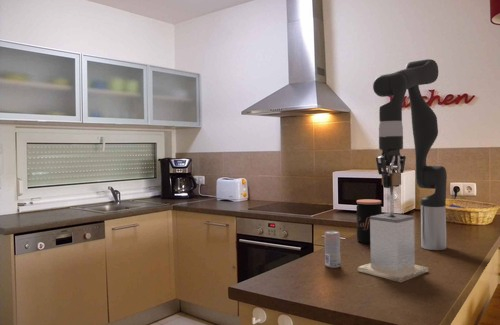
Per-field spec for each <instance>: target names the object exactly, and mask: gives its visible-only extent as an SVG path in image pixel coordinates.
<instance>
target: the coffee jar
mask: <svg viewBox="0 0 500 325" xmlns="http://www.w3.org/2000/svg"><path fill="white" fill-rule="evenodd" d="M382 203H383V202H382V200H380V199H371V198H370V199H369V198H367V199H365V198H364V199H357V200H356V204H357V205H356V239H357V241H358V242H359V243H360V244H361V243H362V244H366V245H370V216H375V215H380V214H383V213H382V212H383V210H382V209H383V208H382V205H381V204H382Z"/></svg>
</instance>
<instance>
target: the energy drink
mask: <svg viewBox="0 0 500 325" xmlns="http://www.w3.org/2000/svg"><path fill="white" fill-rule="evenodd" d="M324 265H325V267H326V268H332V269H333V268H339V267H341V233H340V231H338V230H326V231H325V232H324Z"/></svg>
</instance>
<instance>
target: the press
mask: <svg viewBox="0 0 500 325" xmlns="http://www.w3.org/2000/svg"><path fill="white" fill-rule="evenodd" d="M369 245H370V262H369V263H366V264H363V265H360V266H357V272H360V273H362V274H367V275H371V276H374V277H378V278H382V279H386V280H389V281H394V282H399V283H403V282H405V281H408V280H411V279H414V278H416V277H419V276H422V275H423V274H426V273H428V272H429V266H425V265H424V266H423V265H418V264H415V261H416V260H415V258H416V257H415V253H416V252H415V216H414V215H407V214H399V213H398V214H397V213H394V217H390V212H385V213H382V214H380V215H375V216H370V244H369Z"/></svg>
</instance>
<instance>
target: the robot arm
mask: <svg viewBox="0 0 500 325" xmlns="http://www.w3.org/2000/svg"><path fill="white" fill-rule="evenodd" d="M438 76H439V66H438V63H437V62H436V60H434V59H429V58H428V59H422V60H414V61H410V62H408V63H406V65H405V69H400V70H398V71H395V72H393V73H387V74H382V75H378V76H377V77H376V78H375V79H374V81H373V83H372V90H373V91H374V93H375V95H377V96H378V97H383V98H384V97H392V98H391V100H390V101H388V102H386V103H383V104H381V105H380V106H379V111H378V112H379V113H378V114H379V118H378V120H379V123H378V124H379V126H378V149H379V150H380V151H382V152H381V155H380V156H376V157H375V161H376V167H377V170H378V171H377V172H378V175H381V177H382V176H383V181H384V182H383V185H382V186H383V188H384V189H390V187H391V177H389V176H390V174H391V172H399V173H401V174H403V173H404V172H405V171H404V170H405V164H406V159H407V158H406V155H401V151H400V150H403V149H404V127H403V106H404V100H405V96H406V93H408V97H409V98H408V99H409V104H410V113H411V114H410V116H411V128H412V134H413V142H414V143H413V144H414V151H415V179H416V180H415V181H416V184H417V186H418V187H419V188H420V189H432V190H434V193H432V194H431V195H428V196H424V197H422V198H421V199H420V240H421V241H420V242H421V243H420V244H421V246H420V247H421V249H424V250H429V251H443V250H446V249H447V218H446V217H447V216H446V215H447V214H446V213H447V212H446V211H447V210H446V209H447V208H446V205H447V204H446V201H447V183H448V182H447V181H448V180H447V178H448V177H447V176H448V174H447V170H446V167H445V166H441V165H427V157H428V153H429V152H430V150H431V148H432V146H433V145H434V143H435V142H436V139H437V137H438V136H439V135H438V134H439V124H438V117H437V114H436V113H435V112H434V110H433V109H432V108H431V107H430V106H429V104H428V103H427V102H426V101H425V99H424V98H423V96H422V92H421V89H420V86H421V85H430V84H433V83H434V82H437V80H438V78H439V77H438ZM395 187H396V188H397V187H400V185H395V186H393V188H395Z"/></svg>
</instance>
